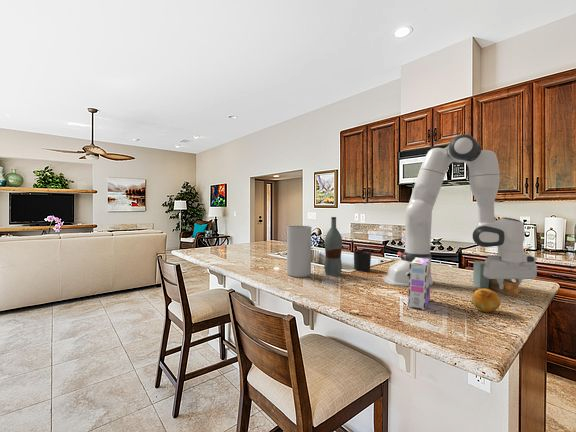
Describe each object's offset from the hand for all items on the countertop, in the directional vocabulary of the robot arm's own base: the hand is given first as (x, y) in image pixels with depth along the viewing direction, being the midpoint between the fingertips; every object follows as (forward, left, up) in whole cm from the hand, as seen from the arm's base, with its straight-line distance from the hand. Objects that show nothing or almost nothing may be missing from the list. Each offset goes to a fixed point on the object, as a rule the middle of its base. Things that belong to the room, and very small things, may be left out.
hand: (508, 289), depth 126 cm
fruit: (-24, -21, -2) cm, 32 cm away
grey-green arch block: (0, +10, -2) cm, 11 cm away
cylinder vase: (-88, +29, -2) cm, 92 cm away
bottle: (-70, +31, -2) cm, 76 cm away
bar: (0, +7, -2) cm, 8 cm away
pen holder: (-52, +42, -2) cm, 67 cm away
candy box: (-44, -14, -2) cm, 46 cm away
